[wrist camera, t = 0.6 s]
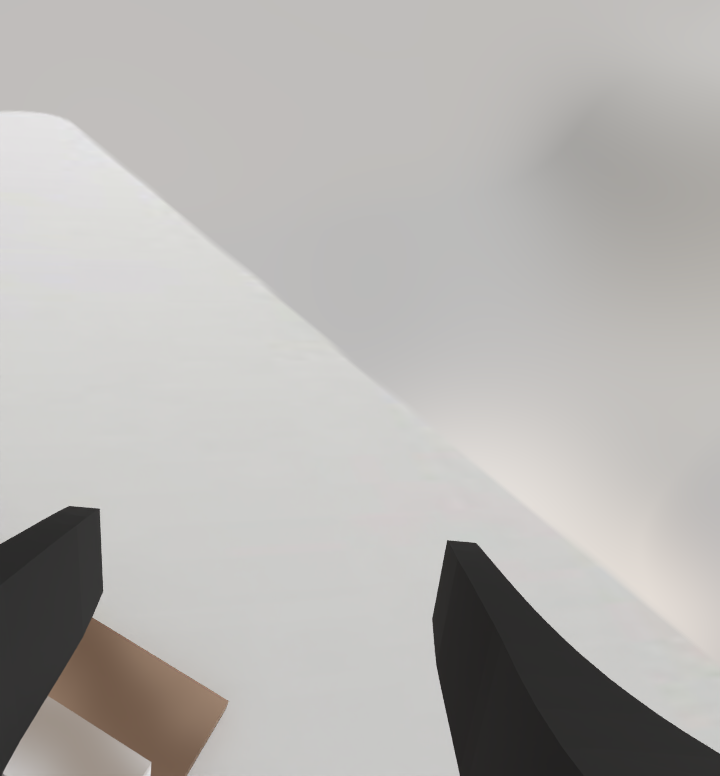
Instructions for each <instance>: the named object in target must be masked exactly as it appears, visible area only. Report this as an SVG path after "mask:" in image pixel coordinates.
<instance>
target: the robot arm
mask: <svg viewBox="0 0 720 776" xmlns="http://www.w3.org/2000/svg"><path fill="white" fill-rule="evenodd" d="M102 593H103V578H102V555H101V532H100V509H96V508H85V507H74V506H69V507H67V508H64V509H62V510H60V511H58V512H57V513H55V514H53V515H51V516H49V517H47V518H46V519H44V520H42V521H40V522H39V523H37V524H35V525H33V526H32V527H30V528H28V529H26V530H25V531H23V532H21V533H19V534H18V535H16V536H14V537H12V538H10V539H9V540H7V541H5V542H3V543H2V544H0V776H2V774H3V772H4V770H5V768H6V766H7V764H8V762H9V760H10V759H11V757H12V755H13V753H14V751H15V750H16V748H17V746H18V744H19V742H20V741H21V739H22V737H23V736H24V734H25V732H26V731H27V729H28V727H29V726H30V724H31V723H32V721H33V719H34V718H35V716H36V714H37V713H38V711H39V709H40V708H41V706H42V704H43V703H44V701H45V700H46V698H47V696H48V695H49V693H50V691H51V690H52V688H53V686H54V685H55V683H56V681H57V680H58V678H59V677H60V675H61V673H62V672H63V670H64V668H65V667H66V665H67V663H68V662H69V660H70V658H71V656H72V655H73V653H74V651H75V650H76V648H77V646H78V645H79V643H80V641H81V640H82V638H83V636H84V634H85V632H86V629H87V627H88V625H89V623H90V621H91V618H92V616H93V614H94V612H95V609H96V607H97V604H98V602H99V600H100V597H101V595H102ZM432 621H433V633H434V645H435V655H436V665H437V670H438V675H439V680H440V685H441V690H442V694H443V699H444V704H445V708H446V713H447V717H448V722H449V727H450V731H451V736H452V741H453V745H454V750H455V754H456V759H457V764H458V768H459V773H460V776H720V754H719V753H718V752H716V751H714V750H713V749H711V748H710V747H708V746H706V745H705V744H703V743H701V742H700V741H698V740H697V739H695V738H693V737H692V736H690V735H689V734H687V733H685V732H684V731H682V730H681V729H679V728H678V727H676V726H675V725H673V724H672V723H670V722H669V721H667V720H666V719H664V718H663V717H661V716H660V715H658V714H657V713H655V712H654V711H653V710H651V709H650V708H648V707H647V706H646V705H644V704H643V703H641V702H640V701H639V700H637V699H636V698H634V697H633V696H632V695H630V694H629V693H628V692H626V691H625V690H624V689H622V688H621V687H620V686H618V685H617V684H616V683H615V682H613V681H612V680H611V679H609V678H608V677H607V676H606V675H605V674H603V673H602V672H601V671H600V670H599V669H597V668H596V667H595V666H594V665H593V664H591V663H590V662H589V661H588V660H587V659H586V658H584V657H583V656H582V655H581V654H580V653H579V652H577V651H576V650H575V649H574V648H573V647H572V646H571V645H570V644H569V643H568V642H566V641H565V640H564V639H563V638H562V637H561V636H560V635H559V634H558V633H557V632H556V631H555V630H554V629H553V628H552V627H551V626H550V625H549V624H548V623H547V622H546V621H545V620H544V619H543V618H542V617H541V616H540V615H539V614H538V613H537V612H536V611H535V610H534V609H533V608H532V606H531V605H530V604H529V603H528V602H527V601H526V600H525V599H524V598H523V597H522V596H521V594H520V593H519V592H518V591H517V590H516V589H515V588H514V587H513V585H512V584H511V583H510V582H509V581H508V580H507V579H506V577H505V576H504V575H503V574H502V573H501V572H500V570H499V569H498V568H497V567H496V566H495V565H494V563H493V562H492V561H491V560H490V559H489V557H488V556H487V555H486V554H485V553H484V552H483V550H482V549H481V548H480V547H479V546H478V545H477V544H476V543H470V542H459V541H448V540H447V545H446V550H445V555H444V561H443V566H442V571H441V576H440V582H439V587H438V592H437V597H436V603H435V608H434V613H433V618H432Z"/></svg>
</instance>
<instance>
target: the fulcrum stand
mask: <svg viewBox="0 0 720 776" xmlns="http://www.w3.org/2000/svg"><path fill="white" fill-rule="evenodd" d="M227 704H228V700H226V699H224V698H223V697H221V696H219V695H218V694H216V693H214V692H213V691H211V690H210V689H208V688H206V687H205V686H203V685H201V684H200V683H198V682H197V681H195V680H193V679H192V678H190V677H188V676H187V675H185V674H184V673H182V672H180V671H179V670H177V669H175V668H174V667H172V666H170V665H169V664H167V663H166V662H164V661H162V660H161V659H159V658H157V657H156V656H154V655H153V654H151V653H149V652H148V651H146V650H144V649H143V648H141V647H139V646H138V645H136V644H135V643H133V642H131V641H130V640H128V639H126V638H125V637H123V636H122V635H120V634H118V633H117V632H115V631H113V630H112V629H110V628H109V627H107V626H105V625H104V624H102V623H100V622H99V621H97V620H95V619H94V618H91V621H90V623H89V625H88V627H87V629H86V632H85V634H84V636H83V638H82V640H81V641H80V643H79V645H78V646H77V648H76V650H75V651H74V653H73V655H72V656H71V658H70V660H69V662H68V663H67V665H66V667H65V668H64V670H63V672H62V673H61V675H60V677H59V678H58V680H57V681H56V683H55V685H54V686H53V688H52V690H51V691H50V693H49V695H48V696H47V698H46V700H45V701H44V703H43V704H42V706H41V708H40V709H39V711H38V713H37V714H36V716H35V718H34V719H33V721H32V723H31V724H30V726H29V727H28V729H27V731H26V732H25V734H24V736H23V737H22V739H21V741H20V742H19V744H18V746H17V748H16V750H15V751H14V753H13V755H12V757H11V759H10V760H9V762H8V764H7V766H6V768H5V770H4V772H3V774H2V776H187V774H188V773H189V771H190V769H191V767H192V766H193V764H194V762H195V761H196V759H197V757H198V756H199V754H200V752H201V750H202V749H203V747H204V745H205V744H206V742H207V740H208V738H209V737H210V735H211V733H212V732H213V730H214V728H215V727H216V725H217V723H218V721H219V720H220V718H221V716H222V715H223V713H224V711H225V709H226V707H227Z"/></svg>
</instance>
